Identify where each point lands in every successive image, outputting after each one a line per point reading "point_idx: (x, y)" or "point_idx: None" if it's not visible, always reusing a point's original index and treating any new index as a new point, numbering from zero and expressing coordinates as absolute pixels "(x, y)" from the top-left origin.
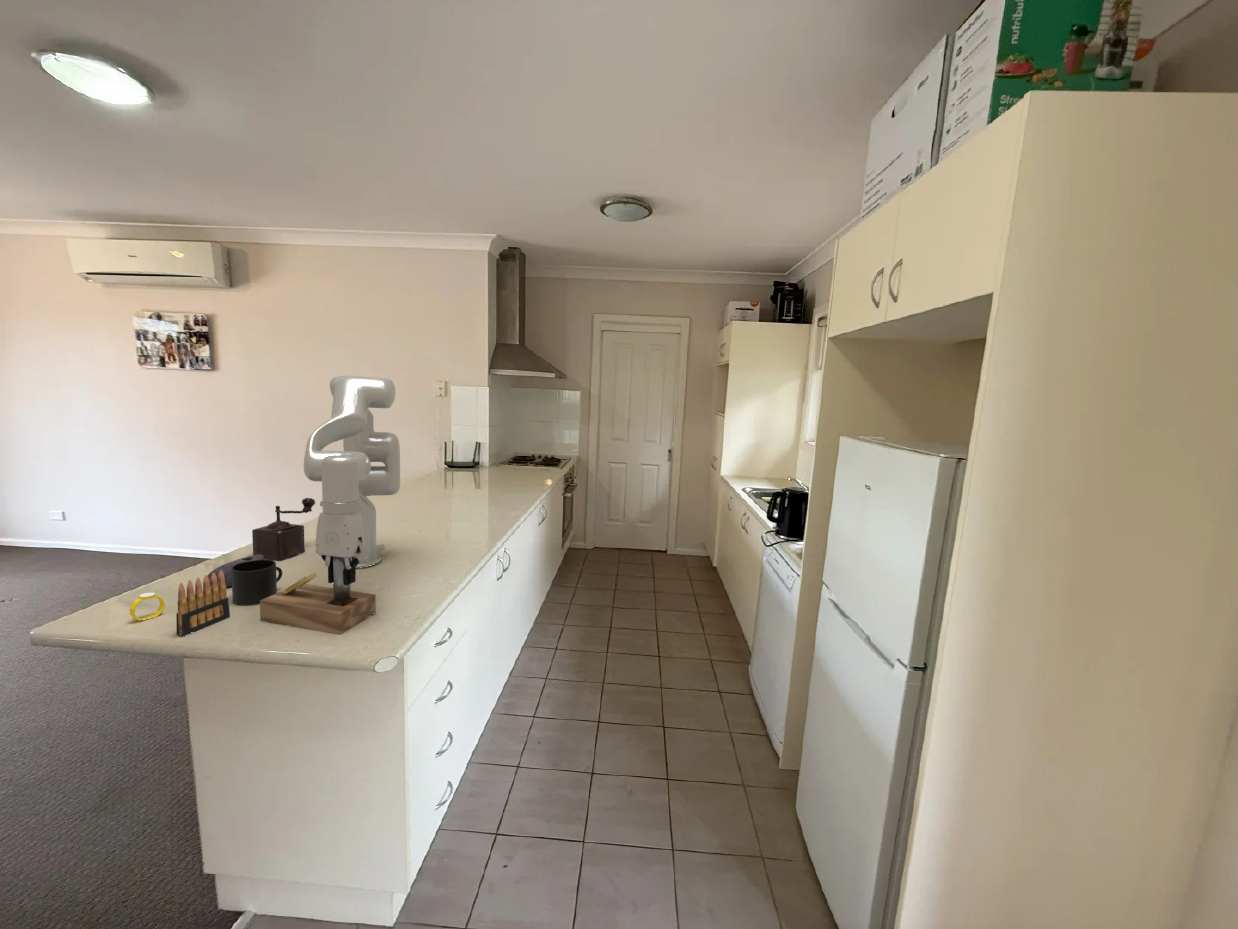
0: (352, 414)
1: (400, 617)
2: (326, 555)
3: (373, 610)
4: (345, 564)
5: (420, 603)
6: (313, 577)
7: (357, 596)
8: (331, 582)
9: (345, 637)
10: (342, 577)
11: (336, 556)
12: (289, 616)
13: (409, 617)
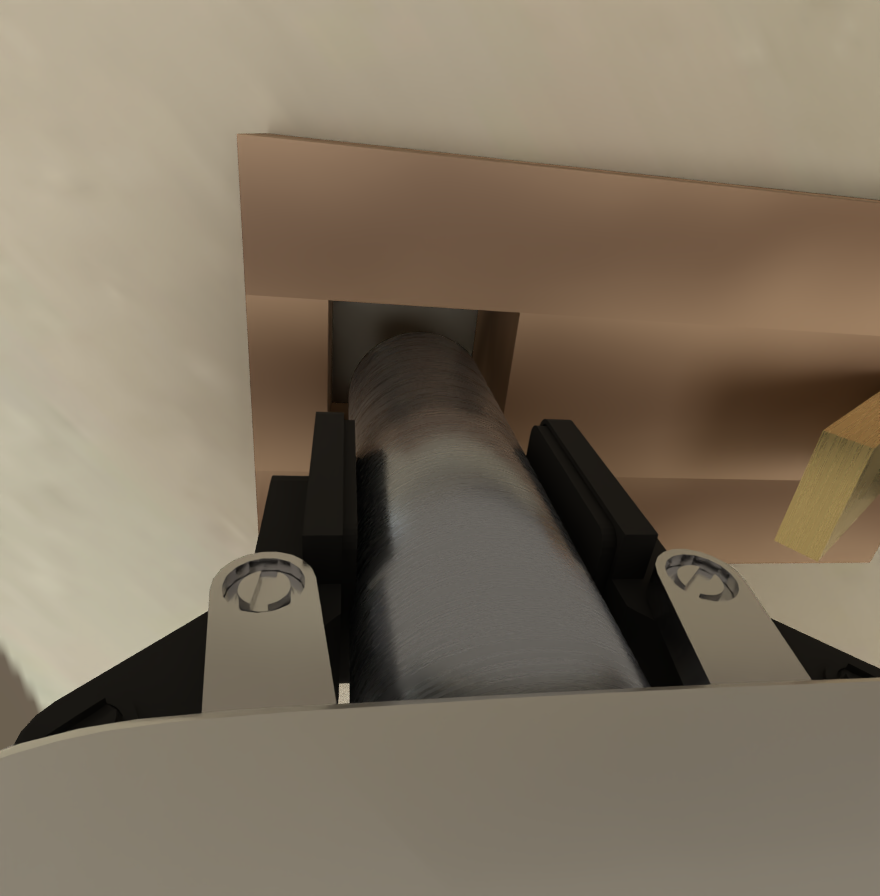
0: None
1: (80, 479)
2: (811, 680)
3: None
4: (320, 619)
5: (126, 654)
6: (795, 504)
7: None
8: (532, 427)
9: (190, 95)
10: (383, 470)
11: (478, 697)
12: (734, 185)
13: (23, 495)
